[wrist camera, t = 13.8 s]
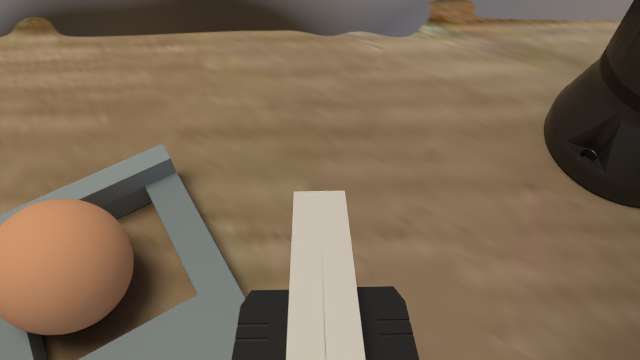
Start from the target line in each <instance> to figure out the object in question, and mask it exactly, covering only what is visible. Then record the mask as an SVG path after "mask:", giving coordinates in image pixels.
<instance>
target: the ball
mask: <svg viewBox="0 0 640 360" xmlns="http://www.w3.org/2000/svg"><path fill="white" fill-rule="evenodd" d="M133 266H134V256H133V250H132V245H131V242H130V239H129V237H128V235H127V233H126V231H125V229H124V228H123V227H122V225H121V224H120V223H119V222H118V220H117V219H115V218H114V217H113V216H112V215H111V214H110V213H109V212H107V211H105V210H104V209H102V208H100V207H99V206H96V205H94V204H91V203H89V202H85V201H81V200H76V199H51V200H46V201H42V202H38V203H35V204H33V205H30V206H28V207H26V208H24V209H22V210H20V211H18V212H17V213H15V214H14V215H12V216H11V217H9V218H8V219H7V220H6V221H5V222H4V223H3V224H2V225H1V226H0V316H1V317H2V318H3V319H4V320H5V321H7V322H8V323H10V324H12V325H13V326H15V327H17V328H19V329H22V330H24V331H27V332H30V333H35V334H40V335H62V334H68V333H72V332H76V331H79V330H82V329H84V328H87V327H89V326H91V325H93V324H95V323H96V322H98V321H100V320H101V319H102V318H104V317H105V316H106V315H107V314H109V313H110V312H111V311H112V310H113V309H114V308H115V307H116V306H117V304H118V303H119V302H120V301H121V299H122V298H123V296H124V294H125V292H126V290H127V289H128V287H129V284H130V281H131V278H132V273H133Z"/></svg>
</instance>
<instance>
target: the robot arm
mask: <svg viewBox="0 0 640 360" xmlns="http://www.w3.org/2000/svg"><path fill="white" fill-rule="evenodd" d="M544 135H545V140H546V143H547V146H548V148H549V151H550V153H551V154H552V156H553V158H554V159H555V161H556V162H557V163H558V164H559V166H560V167H561V168H562V169H563V170H564V171H565V172H566V173H567V174H568V175H569V176H570V177H571V178H572V179H574V180H575V181H576V182H578V183H579V184H580V185H582V186H583V187H585V188H587V189H588V190H590V191H592V192H594V193H596V194H598V195H600V196H602V197H604V198H606V199H609V200H612V201H615V202H618V203H621V204H625V205H630V206H635V207H640V0H634V1H633V3H632V4H631V6H630V8H629V10H628V11H627V13H626V14H625V16H624V18H623V20H622V21H621V23H620V25H619V26H618V28H617V30H616V32H615V33H614V35H613V37H612V38H611V40H610V42H609V44H608V46H607V47H606V49H605V51H604V53H603V54H602V56H601V57H600V59H598V60H597V61H596V62H595V63H594V64H592V65H591V66H590V67H589V68H588V69H586V70H585V71H584V72H583V73H582V74H581V75H579V76H578V77H577V78H576V79H575V80H574V81H573V82H572V83H570V84H569V85H568V86H567V87H565V88H564V89H563V90H562V91H561V93H560V94H559V95H558V96H557V98H556V99H555V101H554V103H553V105H552V107H551V109H550V111H549V112H548V114H547V117H546V120H545V125H544ZM237 324H238V326H237V329H236V336H235V342H234V348H233V354H232V360H419V357H418V353H417V349H416V345H415V340H414V337H413V332H412V328H411V324H410V322H409V315H408V311H407V307H406V303H405V300H404V299H403V298H402V297H401V295H400V294H399V293H398V292H397V290H396V289H395V288H394V287H393V286H389V287H357V286H356V278H355V270H354V262H353V254H352V246H351V238H350V230H349V222H348V213H347V205H346V197H345V191H300V192H294V202H293V223H292V244H291V265H290V285H289V290H251V292H250V293H249V294H248V296H247V297H246V299H245V300H244V302H243V303H242V304H241V306H240V311H239V317H238V323H237Z"/></svg>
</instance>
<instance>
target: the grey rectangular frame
mask: <svg viewBox="0 0 640 360" xmlns="http://www.w3.org/2000/svg"><path fill="white" fill-rule="evenodd" d="M51 199H76V200H81V201H85V202H89V203H91V204H94V205H96V206H99V207H100V208H102V209H104V210H105V211H107V212H109V213H110V214H111V215H112V216H113V217H114V218H115V219H117V218H119V217H122V216H124V215H126V214H128V213H130V212H132V211H134V210H136V209H138V208H141V207H143V206H145V205H147V204H149V203H151V202H153V204H154V206H155V208H156V210H157V212H158V214H159V216H160V218H161V221H162V223H163V225H164V227H165V229H166V231H167V233H168V235H169V237H170V239H171V241H172V243H173V245H174V247H175V249H176V251H177V253H178V255H179V258H180V260H181V262H182V264H183V266H184V268H185V270H186V272H187V274H188V276H189V278H190V280H191V282H192V284H193V286H194V288H195V290H196V293H197V295H196V296H194V297H192V298H190V299H189V300H187V301H185V302H183V303H181V304H179V305H178V306H176V307H174V308H172V309H170V310H168V311H167V312H165V313H163V314H161V315H159V316H157V317H155V318H154V319H152V320H150V321H148V322H146V323H144V324H143V325H141V326H139V327H137V328H135V329H133V330H132V331H130V332H128V333H126V334H124V335H122V336H121V337H119V338H117V339H115V340H113V341H111V342H110V343H108V344H106V345H104V346H102V347H100V348H99V349H97V350H95V351H93V352H91V353H89V354H88V355H86V356H84V357H82V358H80V359H78V360H232V354H233V348H234V342H235V336H236V329H237V326H238V324H237V323H238V317H239V311H240V306H241V304H242V303H243V302H244V300H245V297H244V295H243V293H242V292H241V290H240V288H239V286H238V284H237V282H236V281H235V279H234V277H233V275H232V273H231V271H230V270H229V268H228V266H227V264H226V262H225V260H224V259H223V257H222V255H221V253H220V251H219V249H218V247H217V246H216V244H215V242H214V240H213V238H212V236H211V235H210V233H209V231H208V229H207V227H206V225H205V224H204V222H203V220H202V218H201V216H200V214H199V213H198V211H197V209H196V207H195V205H194V203H193V202H192V200H191V198H190V196H189V194H188V192H187V191H186V189H185V187H184V185H183V183H182V181H181V180H180V178H179V176H178V174H177V172H176V170H175V168H174V166H173V163H172V161H171V159H170V157H169V155H168V153H167V152H166V150H165V148H164V146H163V144H160V145H158V146H155V147H153V148H151V149H149V150H146V151H144V152H142V153H140V154H137V155H135V156H133V157H130V158H128V159H126V160H124V161H121V162H119V163H117V164H115V165H112V166H110V167H108V168H105V169H103V170H101V171H99V172H96V173H94V174H92V175H89V176H87V177H85V178H83V179H80V180H78V181H76V182H74V183H71V184H69V185H67V186H64V187H62V188H60V189H58V190H55V191H53V192H51V193H49V194H46V195H44V196H42V197H39V198H37V199H35V200H33V201H30V202H28V203H26V204H24V205H21V206H19V207H17V208H14V209H12V210H10V211H8V212H5V213H3V214H1V215H0V226H1V225H2V224H3V223H4V222H5V221H6V220H7V219H8V218H9V217H11V216H12V215H14V214H15V213H17V212H18V211H20V210H22V209H24V208H26V207H28V206H30V205H33V204H35V203H38V202H42V201H46V200H51ZM0 360H48V358H47V355H46V351H45V347H44V344H43V340H42V336H41V335H40V334H35V333H30V332H27V331H24V330H22V329H19V328H17V327H15V326H13V325H12V324H10V323H8V322H7V321H5V320H4V319H3V318H2V317H1V316H0Z"/></svg>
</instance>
